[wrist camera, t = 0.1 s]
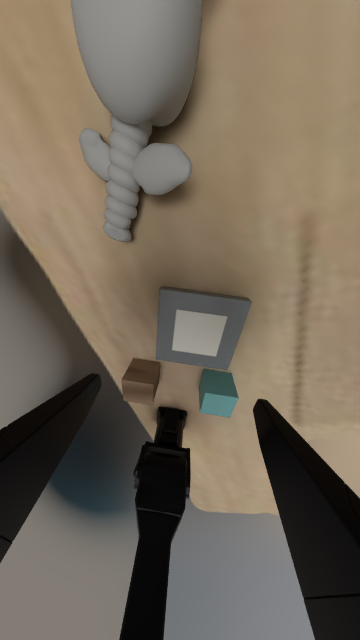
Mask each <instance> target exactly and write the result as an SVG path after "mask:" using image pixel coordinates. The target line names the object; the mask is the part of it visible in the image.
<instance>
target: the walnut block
mask: <svg viewBox="0 0 360 640" xmlns="http://www.w3.org/2000/svg"><path fill="white" fill-rule="evenodd" d="M159 374H160V362H155V361H148V360H142V359H135V358H133V360H132V362H131V364H130V366H129V367H128V369H127V371H126V373H125V375H124V376H123V378H122V389H123V399H124V401H130V402H136V403H142V404H148V405H153V402H154V398H155V394H156V391H157V387H158V383H159Z"/></svg>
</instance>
